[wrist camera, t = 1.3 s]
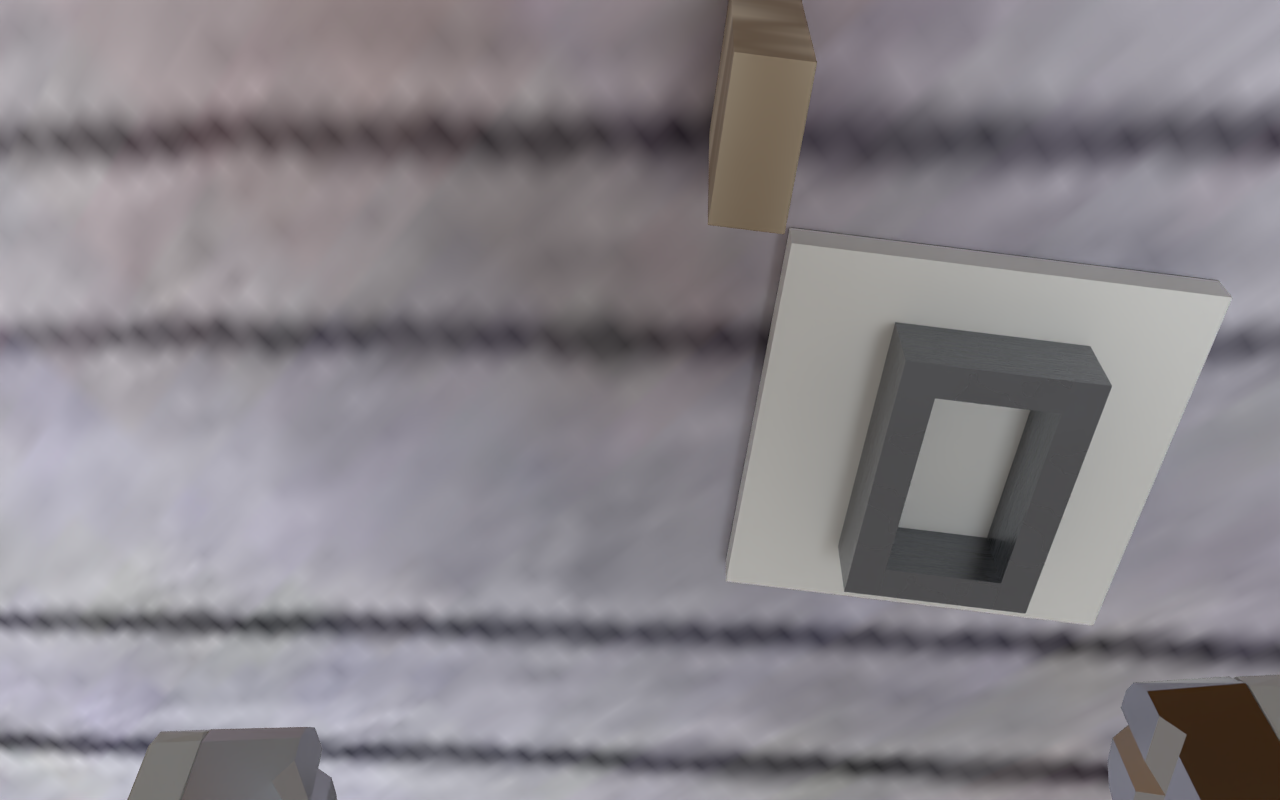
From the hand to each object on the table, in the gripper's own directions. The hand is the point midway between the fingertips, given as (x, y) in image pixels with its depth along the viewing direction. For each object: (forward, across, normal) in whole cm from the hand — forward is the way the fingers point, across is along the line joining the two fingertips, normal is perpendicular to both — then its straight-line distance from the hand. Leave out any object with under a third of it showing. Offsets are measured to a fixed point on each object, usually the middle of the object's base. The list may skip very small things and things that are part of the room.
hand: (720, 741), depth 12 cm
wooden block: (+27, +3, -2) cm, 27 cm away
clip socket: (+24, +10, -16) cm, 31 cm away
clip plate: (+26, +10, -16) cm, 32 cm away
